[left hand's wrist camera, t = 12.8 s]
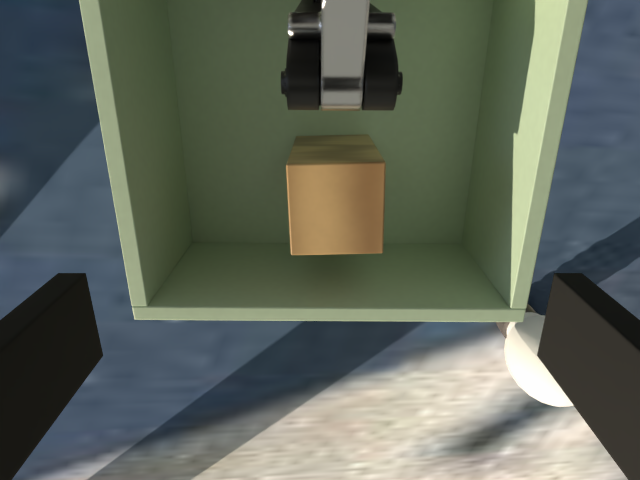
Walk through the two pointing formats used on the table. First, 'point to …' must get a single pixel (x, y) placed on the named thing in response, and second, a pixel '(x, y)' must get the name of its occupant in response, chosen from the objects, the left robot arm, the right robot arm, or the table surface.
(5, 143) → the table surface
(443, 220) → the sage bin
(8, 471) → the left robot arm
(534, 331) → the light bulb
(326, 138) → the beech block
